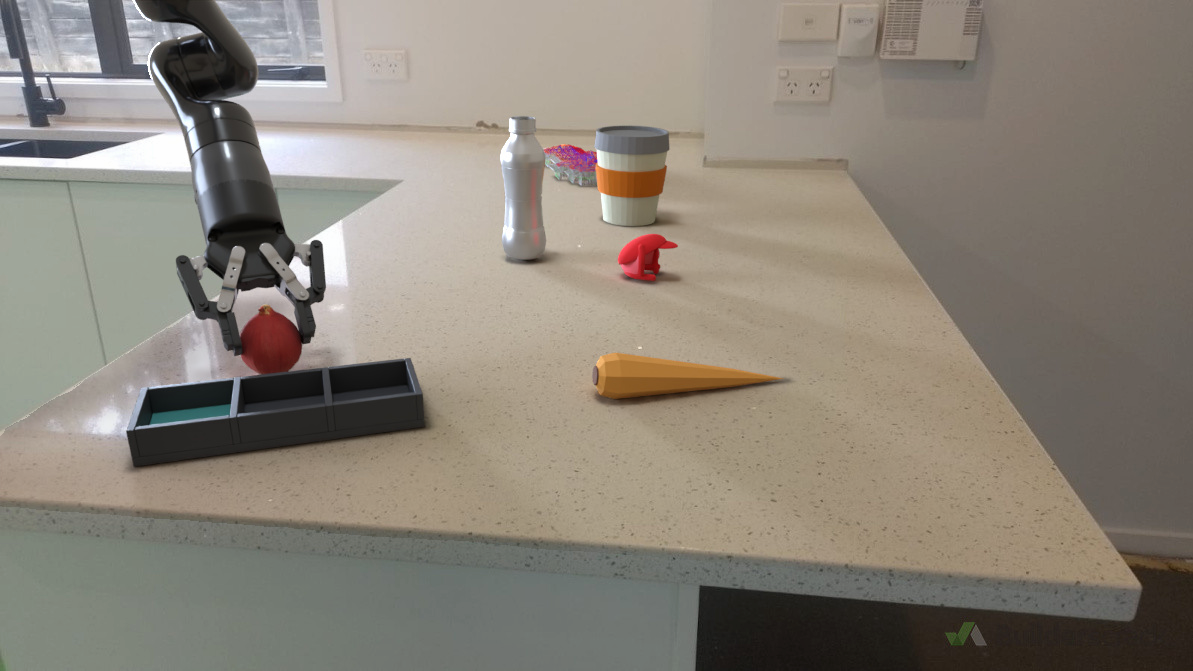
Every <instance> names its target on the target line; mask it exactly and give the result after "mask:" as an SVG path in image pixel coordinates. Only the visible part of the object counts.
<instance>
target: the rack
mask: <svg viewBox="0 0 1193 671" xmlns="http://www.w3.org/2000/svg"><path fill="white" fill-rule="evenodd" d="M425 421H426V420H425V405H424V394H423V391H422V387H421V384H420V382H419V379H418V375H417V373H416V370H415V367H414V364H413V361H412V359H411V357H405V358H397V359H387V360H378V361H377V360H376V361H368V362H360V363H352V364H343V365H333V366H325V367H316V368H306V369H297V370H289V371H288V372H279V373H270V374H253V375H244V376H236V377H235V376H234V377H225V378H216V379H209V380H200V381H198V380H197V381H190V382H181V383H171V384H163V385H155V386H149V387H148V386H147V387H146V386H145V387H141V388H140V390H139V393H138V395H137V399H136V402H135V404H134V407H133V410H132V414H131V416H130V418H129V422H128V424H127V426H126V430H125V433H126V438H127V442H128V448H129V451H130V457H131V461H132V465H133V467H140V466H142V467H143V466H149V465H156V464H162V463H163V464H164V463H170V462H178V461H185V460H192V459H199V458H206V457H215V456H222V455H228V454H229V455H230V454H237V453H244V452H251V451H257V450H258V451H259V450H266V449H273V448H280V447H288V446H294V445H301V444H309V443H317V442H323V441H331V440H337V439H345V438H352V437H359V436H366V435H367V436H368V435H375V434H381V433H388V432H389V433H390V432H396V431H397V432H398V431H405V430H410V429H411V430H412V429H418V428H424V427H426V422H425Z"/></svg>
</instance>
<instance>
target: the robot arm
mask: <svg viewBox="0 0 1193 671" xmlns="http://www.w3.org/2000/svg"><path fill="white" fill-rule="evenodd" d="M132 1H133V3H134V4H135V7H136V9H137V10H138V11H139V14H141V16H142V17H143V18H145V19H146V20H148V21H149V22H154V23H159V24H182V25H188V26H191V27H194V28H196V29H197V30H199V31H200V32H198V33H197V32H196V33H194V34H189V35H185V36H181V37H176V38H171V39H167V40H164V41H161V42H158V43H157V44H156V45H155V46H154V47H153V48H152V49H151V51H150V53H149V55H148V61H147V66H148V72H149V75H150V78H151V80H152V81H153V83H154V85H155V87H156V89H157V91H159V93H160V95H161V96H162V98H163V99H164V101H165V103H166V104H167V105H168V106H169V108H170V110H171V111H172V113H173V115H174V117H175V119H176V121H177V123H178V125H179V128H180V130H181V133H182V136H183V139H184V140H183V141H184V144H185V148H186V152H187V157H188V161H189V166H190V171H191V184H192V189H193V195H194V196H193V199H194V202H195V204H196V208H197V211H198V214H199V219H200V224H201V227H202V232H203V236H204V241H205V245H206V247H205V250H204V252H203V254H201V255H198V256H194V257H188V256H187V255H184V254H180V255H178V256H176V258H175V267H176V275H177V277H178V279H179V282H180V284H181V286H182V288H183V291H184V293H185V295H186V297H187V300H188V302H189V304H190V306H191V308H192V311H193V313H194V316H195V318H196V319H198V320H200V321H204V320H207V319H208V320H214V321H216V323H217V324H218V326H219V331H220V335H221V339H222V340H221V341H222V344H223V347H224V348H225V350H226V351H227V352H232V353H233V356H234V357H237V356H241V355H242V343H241V339H240V330H239V327H238V323H237V319H236V314H235V311H233V310H234V307H235V304H236V302H237V299H238V295H239V292H241V293H242V292H250V291H253V290H254V289H258V288H259V289H260V288H261V289H270V288H271V289H272V288H275V289H276V290H277V292H279V294H280V295H281V296H283V297H285V298H286V299H287V300H288V302H290V304H291V305H292V306H293V307H294V310H293V314H294V318H295V322H296V327H297V328H298V330H299V333H300V337H301V341H302V345H307V344H311V343H312V342H311V341H312V338H314V337H315V333H316V328H317V324H316V321H315V317H314V314H313V309H312V305H313V304H316V303H318V304H319V303H323V300H324V298H325V293H326V289H327V283H326V270H325V269H326V268H325V257H324V246H323V242H322V241H321V240H318V239H313V240H311V242H310V243H309V244H308V243H307V244H306V243H295V242H294V241H293V240H292V239H291V238H290V237H289V235H288V234H287V231H286V228H285V223H284V220H283V217H282V214H281V209H280V205H279V202H278V198H277V194H276V190H275V187H274V183H273V179H272V175H271V172H270V170H269V167H268V165H267V163H266V161H265V158H264V156H263V151H262V148H261V144H260V140H259V137H258V132H257V130H256V125H255V123H254V119H253V117H252V115H251V113H250V112H249V111H248V110H247V108H246V107H244V106H243V105H241V104H239V103H237V102H234V101H231V100H228V99H232V98H235V97H242V96H244V95H247V94H249V93H251V92H252V91H253V90H254V89H255V88H256V86H257V83H258V79H259V66H258V63H257V60H256V59H257V58H256V56H255V55H254V52H253V51H252V49H251V48H250V46H249V44H248V43H247V42H246V41H245V39H244V37H242V35H241V34H240V33H239V32H238V30H237V29H236V27H235V26H234V25H233V24H232V22H231V21H230V20H229V19H228V17H227V16H226V14H225V13H224V12H223V11H222V9H221V7H220V6H219V4H218V3H217V1H216V0H132ZM295 257H297V258H299V260H300V262H301V264H302V265H303V266H305V267H308V272H309V283H310V286H309V287H307V288H306V287H305V286H304V285H303V284H302V283H301V282H300V281H299V279H298V278H297V277H298V276H297V275H296V273H295V272H294V271H293V269H292V268H291V267H290V266H291V263H292V261H293V260H294V258H295ZM206 268H207V269H208V270H210V271H211V272H212V273H214V274H215V275H216V276H217V277H219V278H220V279H221V280H222V284H221V288H220V293H219V297H218V300H217V301H213V300H209V299H208V297H207V294H206V293H205V290H204V287H203V286H202V284H201V282H200V281H201V280H203V277H204V269H206Z"/></svg>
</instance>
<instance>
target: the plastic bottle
mask: <svg viewBox="0 0 1193 671" xmlns="http://www.w3.org/2000/svg"><path fill="white" fill-rule="evenodd" d="M536 122H537V120H536V117H534V116H528V115H517V116H516V115H515V116H510V117H509V127H508V132H509V133H510V136H509V138H508V139H507V141H506V142H505V143H504V145H503V147H502V149H501V151H500V157H499V158H500V164H501V165H500V166H501V167H500V168H501V172H502V179H503V187H504V188H503V190H504V194H505V196H504V202H505V204H504V205H505V207H504V223H503V228H502V235H501V244H502V249H503V252H504V253H505V255H506V256H507V257H508V258H511V259H515V260H526V261H527V260H534V259H535V260H536V259H538V258H540V257H542V256H543V254H544V253H545V250H546V245H547V236H546V230H545V226H544V215H543V214H544V213H543V204H542V202H543V196H542V195H543V184H544V183H543V182H544V175H545V168H546V165H545V158H546V157H545V153H544V150H543V147H542V145H541V143H540V142H539V140H538V139H537V136H535V133H537V127H536V126H537V123H536Z"/></svg>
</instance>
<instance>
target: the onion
mask: <svg viewBox="0 0 1193 671" xmlns="http://www.w3.org/2000/svg"><path fill="white" fill-rule="evenodd" d="M239 335H240V339H241V343H242V355H240V358H241V360H242V362H243V363H244V364H245V366H247V367H248V368H249V369H250V370H252V371H253V372H255V373H257V374H258V375H261V374H270V373H279V372H288V371H291V370H292V369H293V368H294V366H296V364H297V363H298V362H299V360H300V358H301V356H302V350H303V344H302V341H301V337H300V333H299V330H298V326H297V325H296V324H295V323H294V322H293V321H292V320H291V319H290V318H288V317H287V316H285V315H284V314H283V313H280V312H279V311H276V310H274V309H273V307H272V306H271V305H269V304H262V305H261V306H259V308H258V313H256V314H255V315H253V316H251V318H249V319H248V320H247V321H246V323H245V324H244V325H243V327H242V329H241V331H240V332H239Z"/></svg>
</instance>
